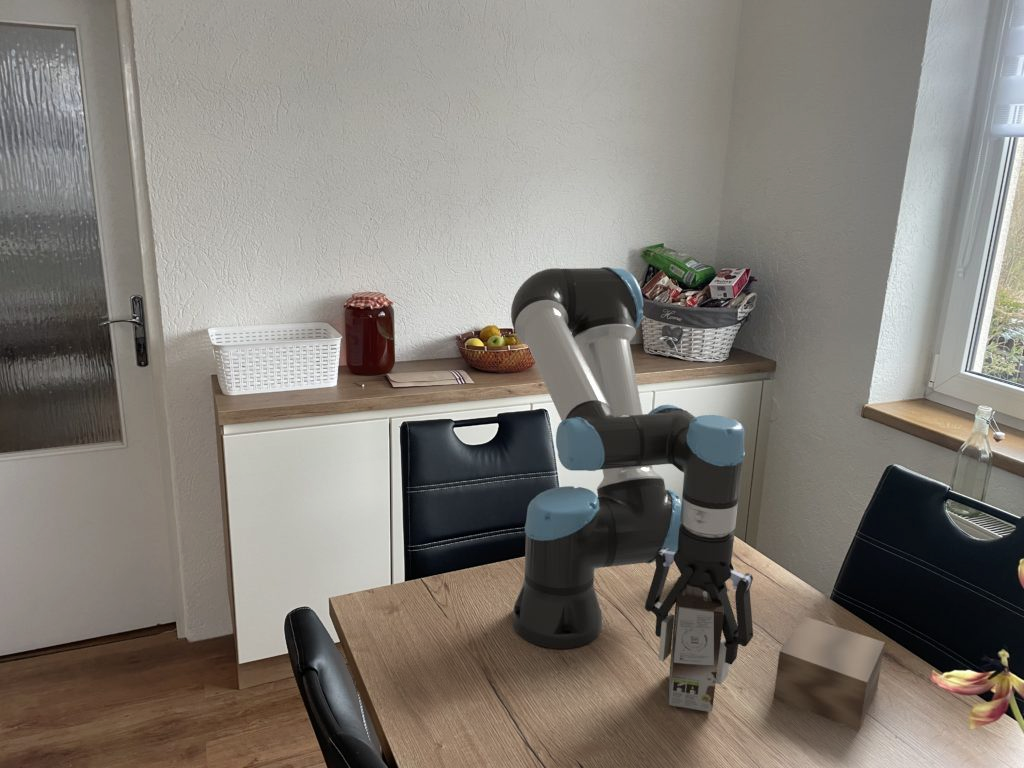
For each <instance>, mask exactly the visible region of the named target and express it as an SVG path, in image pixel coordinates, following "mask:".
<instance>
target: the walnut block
mask: <svg viewBox="0 0 1024 768" xmlns="http://www.w3.org/2000/svg"><path fill="white" fill-rule="evenodd" d="M885 644H886V642H885V641H881V640H880V639H879V640H878V639H875V638H872V637H869V636H866V635H863V634H860V633H857V632H855V631H851V630H848V629H845V628H841V627H839V626H836V625H833V624H829V623H826V622H823V621H821V620H817V619H814V618H811V617H808V616H805V615H802V616H801V618H800V620H799V621H798V623H797V624H796V626H795V627H794V629H793V630H792V631H791V633H790V635H789V636H788V638H787V639H786V641H785V642H784V644H783V645H782V647H781V648H780V650H779V653H778V659H777V660H778V661H777V666H776V667H777V669H776V675H775V676H776V678H775V685H774V692H773V698H775V699H777V700H780V701H782V702H785V703H787V704H788V705H789V704H790V705H793V706H794V707H797V708H800V709H802V710H805V711H808V712H810V713H812V714H815V715H818V716H820V717H823V718H826V719H828V720H830V721H833V722H836V723H838V724H841V725H843V726H846V727H849V728H851V729H854V730H856V731H860V730H861V727H862V726H863V723H864V721H865V718H866V716H867V714H868V711H869V709H870V707H871V704H872V701H873V699H874V696H876V695H875V694H876V692H877V689H878V687H879V686H878V685H879V679H880V673H881V669H882V662H883V656H884V650H885V646H886V645H885Z"/></svg>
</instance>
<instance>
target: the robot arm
mask: <svg viewBox="0 0 1024 768" xmlns="http://www.w3.org/2000/svg"><path fill="white" fill-rule="evenodd" d="M643 307H644V297H643V294H642V290H641V287H640V284H639V283H638V280H637V279H636V278H635V275H633V274H632V273H631V272H630V271H627V270H626V269H623V268H612V267H608V266H603V267H599V268H598V267H597V268H593V267H592V268H591V267H589V268H585V267H584V268H558V267H555V268H554V267H553V268H546V269H543V270H540V271H537V272H536V273H533V274H532V275H531V276H530V277H528V278H527V279H526V280H525V281H524V282H523V283H522V284H521V286H520V287H519V288H518V290H517V291H516V294H515V295H514V297H513V300H512V304H511V309H510V319H511V325H512V327H513V330H514V332H515V335H516V337H517V339H518V340H519V341H520V342H521V343H522V344H524V345H525V346H527V347H528V349H529V351H530V353H531V356H532V358H533V361H534V363H535V365H536V367H537V369H538V371H539V374H540V375H541V379H542V381H543V382H544V385H545V387H546V389H547V392H548V394H549V395H550V398H551V400H552V402H553V404H554V407H555V409H556V411H557V413H558V416H559V418H560V423H559V424H558V426H557V430H556V435H555V447H556V450H557V457H558V459H559V462H560V464H561V465H562V467H564V468H565V469H566V470H568V471H571V472H572V471H577V472H579V471H588V472H596V471H598V470H599V471H601V470H602V475H603V479H602V480H601V482H600V483H599V484H598V486H597V487H596V491H597V495H596V493H595V492H594V491H592V490H590V489H589V488H585V487H581V486H578V487H574V486H570V485H569V486H567V485H566V486H560V487H554V488H550V489H547V490H545V491H543V492H540V493H539V494H537V495H536V496H535V497H534V498H533V499H532V500H531V501H530V502H529V504H528V506H527V510H526V511H527V512H526V521H525V524H524V532H525V549H524V550H525V551H524V552H525V553H524V581H523V583H522V585H521V588H520V591H519V593H518V596H517V598H516V600H515V603H514V606H513V610H512V626H513V629H514V631H515V632H516V633H517V634H518V635H519V636H520V637H521V638H522V639H524V640H526V641H527V642H529V643H532V644H534V645H536V646H540V647H544V648H548V649H558V650H560V649H561V650H562V649H574V648H579V647H583V646H585V645H588V644H589V643H592V642H593V641H594V640H595V639H597V637H598V636H599V635H600V634H601V632H602V626H603V625H602V623H603V613H602V609H601V608H600V603H599V599H598V596H597V592H596V589H595V584H594V580H595V579H594V578H595V570H596V569H601V568H609V567H611V568H612V567H618V566H620V567H621V566H628V565H638V564H644V563H645V564H651V563H654V562H655V569H654V573H653V577H652V579H651V584H650V586H649V587H650V588H649V591H648V594H647V597H646V601H645V604H644V609H645V610H646V611H647V612H648V613H649V612H652V613H653V614H654V616H655V617H656V619H655V620H656V621H655V636H656V637H658V638H660V639H659V641H660V642H659V650H658V661H660V662H665V660H666V659H667V658H668V657H669V656H671V650H672V638H673V627H674V616H675V614H672V613H670V612H671V610H672V608H673V607H674V606H675V605H676V599H677V596H678V592H681V591H682V590H683V589H684V588H685V587H686V586H687V585H688V586H691V587H697V588H700V589H701V590H703V591H706V592H708V593H709V596H710V599H711V600H712V601H713V602H714V603H717V604H719V605H721V606H723V605H724V612H725V613H724V618H723V626H722V633H723V634H722V635H723V637H724V638H723V639H721V643H720V651H719V659H718V667H717V676H716V684H717V685H721V686H722V684H723V682H725V680H726V679H727V677H728V675H729V668H730V667H729V666H730V665H733V663H734V662H735V661H736V659H737V656H738V648H739V645H740V646H742V647H746V646H747V645H748V644H749V643H750V641H751V640H753V639H752V638H753V637H754V630H753V629H754V628H753V616H752V615H753V614H752V604H751V591H750V590H751V587H752V583H753V581H754V578H753V577H754V576H753V575H752V574H751V573H744V574H743V573H741V572H738V571H736V570H735V569H734V567H733V566H734V565H733V564H732V557H733V551H734V550H733V549H734V542H735V541H734V540H735V531H734V530H735V529H736V525H737V524H736V523H737V514H738V513H737V512H738V504H739V497H740V487H741V479H742V472H743V463H744V458H745V456H746V455H745V454H746V453H745V436H746V435H745V434H746V432H745V428H744V426H743V425H742V423H740V422H739V421H738V420H737V419H734V418H728V417H727V416H723V415H718V414H717V415H716V414H703V415H698V416H694V415H693V414H692V413H691V412H689V411H688V410H686V409H683V408H682V407H677V406H676V405H673V404H672V405H671V404H662V405H661V404H660V405H659V406H657V407H655V408H654V409H652V410H650V411H649V412H648V413H645V414H643V410H642V408H643V407H642V403H641V400H640V399H641V398H640V393H639V388H638V382H637V377H636V372H635V371H636V370H635V365H634V362H633V361H634V360H633V355H632V349H631V345H630V344H631V341H632V340H633V339H634V337H635V336H636V333H637V331H636V329H637V328H639V326H640V325H641V323H642V320H643V318H644V317H643V315H644V310H643ZM660 465H661V466H662V465H672V466H673V467H675V468H676V469H677V470H679V471H680V472H682V473H683V484H682V485H683V486H682V496H681V499H680V496H679V495H678V493H677V492H675V491H672V490H671V489H667V488H666V485H665V484H666V483H665V480H664V477H662V476H661V475H660V474H658V472H657V473H656V472H655V470H654V469H653V466H660ZM673 563H674V564H675V565H676V567H677V569H678V571H679V573H680V575H679V576H678V577H679V579H678V578H677V579H676V582H674V584H673V585H674V586H673V587H672V588H671V590H670V591H669V593H668V595H667V596H666V597H665V599H664V600H663V602H662V603H661V602H660V601H661V597H662V595H663V591H664V587H665V584H666V581H667V577H668V574H669V571H670V567H671V566H672V564H673ZM728 580H731V581H732V587H733V589H734V590H735V594H734V595H735V596H734V597H735V599H734V600H735V610H736V611H735V612H736V616H735V614H734V611H733V608H732V605H731V602H730V599H729V596H728V587H727V584H726V582H727V581H728Z"/></svg>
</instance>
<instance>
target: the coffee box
mask: <svg viewBox="0 0 1024 768" xmlns="http://www.w3.org/2000/svg"><path fill="white" fill-rule="evenodd" d="M679 577H680V576H678V577H677V580H678V579H679ZM674 606H675V607H674V624H673V635H672V645H671V653H670V660H669V661H670V662H669V663H670V664H669V665H670V666H669V678H668V679H669V684H668V685H669V686H668V689H669V694H668V696H669V697H668V705H669V706H673V707H679V708H685V709H691V710H695V711H702V712H709V713H711V712H712V711H713V708H714V706H713V705H714V700H715V699H714V698H715V691H716V684H717V683H716V676H717V667H718V659H719V651H720V643H721V642H722V635H723V634H722V633H723V631H722V626H723V618H724V613H725V612H724V605H723V606H721V605H719V604H717V603H714V602H713V601H712V600H711V599H710V596H709V593H708V592H706V591H703V590H701V589H700V588H697V587H691V586H688V585H687V586H686V587H685V588H684V589H683V590H682V591H681V592H678V596H677V599H676V602H675V604H674Z"/></svg>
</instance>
